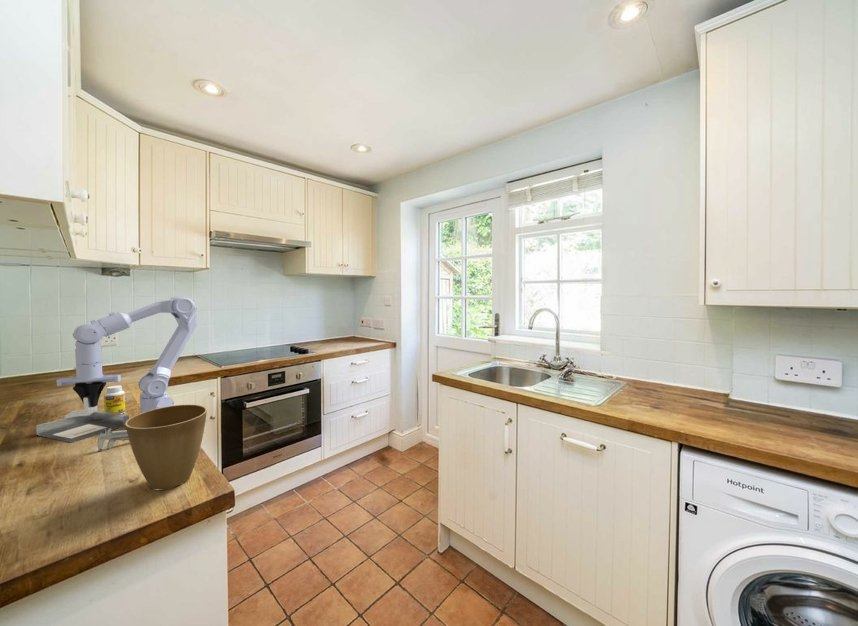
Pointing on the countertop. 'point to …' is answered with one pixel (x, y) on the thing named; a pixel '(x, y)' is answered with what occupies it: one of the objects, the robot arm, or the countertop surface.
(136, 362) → the countertop surface
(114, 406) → the supplement bottle
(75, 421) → the arena
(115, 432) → the caliper
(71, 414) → the bracket
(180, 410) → the plant pot
